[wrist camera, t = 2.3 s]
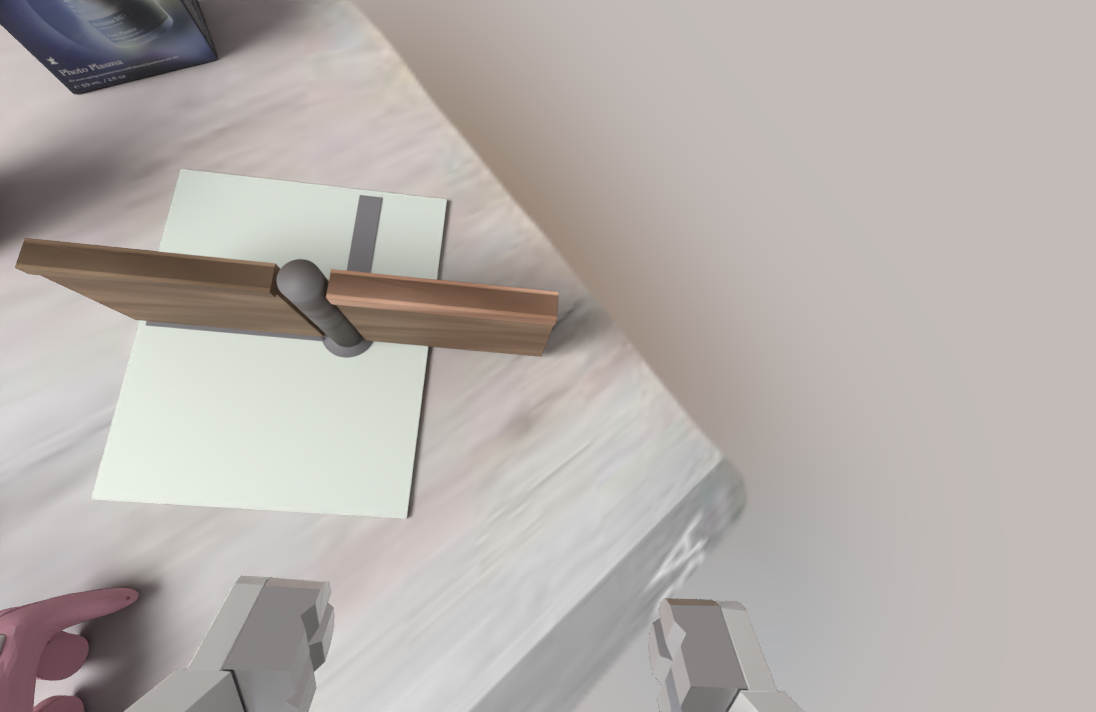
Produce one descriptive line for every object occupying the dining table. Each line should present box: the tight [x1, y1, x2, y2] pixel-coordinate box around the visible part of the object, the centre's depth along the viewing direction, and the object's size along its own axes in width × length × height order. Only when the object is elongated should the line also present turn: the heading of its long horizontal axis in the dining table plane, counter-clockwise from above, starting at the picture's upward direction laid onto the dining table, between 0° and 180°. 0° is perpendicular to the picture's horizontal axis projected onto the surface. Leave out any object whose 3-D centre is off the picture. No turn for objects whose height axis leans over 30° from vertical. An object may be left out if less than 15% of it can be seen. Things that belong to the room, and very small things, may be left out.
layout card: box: [91, 169, 447, 519], centre depth 36 cm, size 23×19×1 cm
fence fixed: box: [15, 238, 363, 347], centre depth 31 cm, size 2×14×10 cm, turn 86°
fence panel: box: [326, 269, 559, 356], centre depth 32 cm, size 2×12×9 cm, turn 86°
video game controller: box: [0, 588, 139, 712], centre depth 28 cm, size 10×5×7 cm, turn 7°
